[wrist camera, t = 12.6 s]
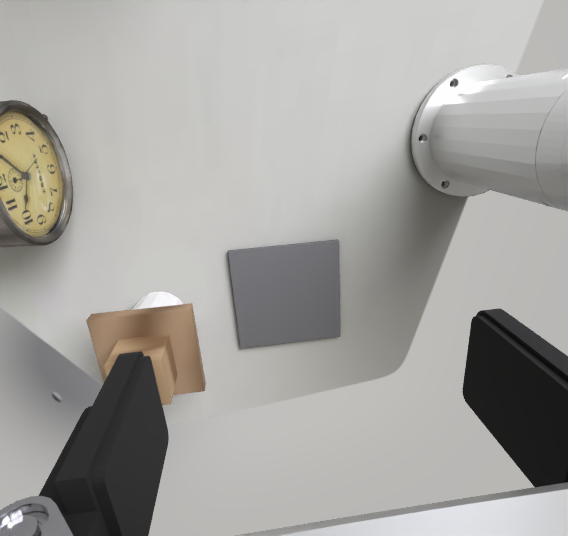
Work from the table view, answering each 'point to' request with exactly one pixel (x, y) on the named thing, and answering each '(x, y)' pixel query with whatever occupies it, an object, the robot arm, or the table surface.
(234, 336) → the table surface
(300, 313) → the mat
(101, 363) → the lid
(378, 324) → the table surface
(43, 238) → the alarm clock
